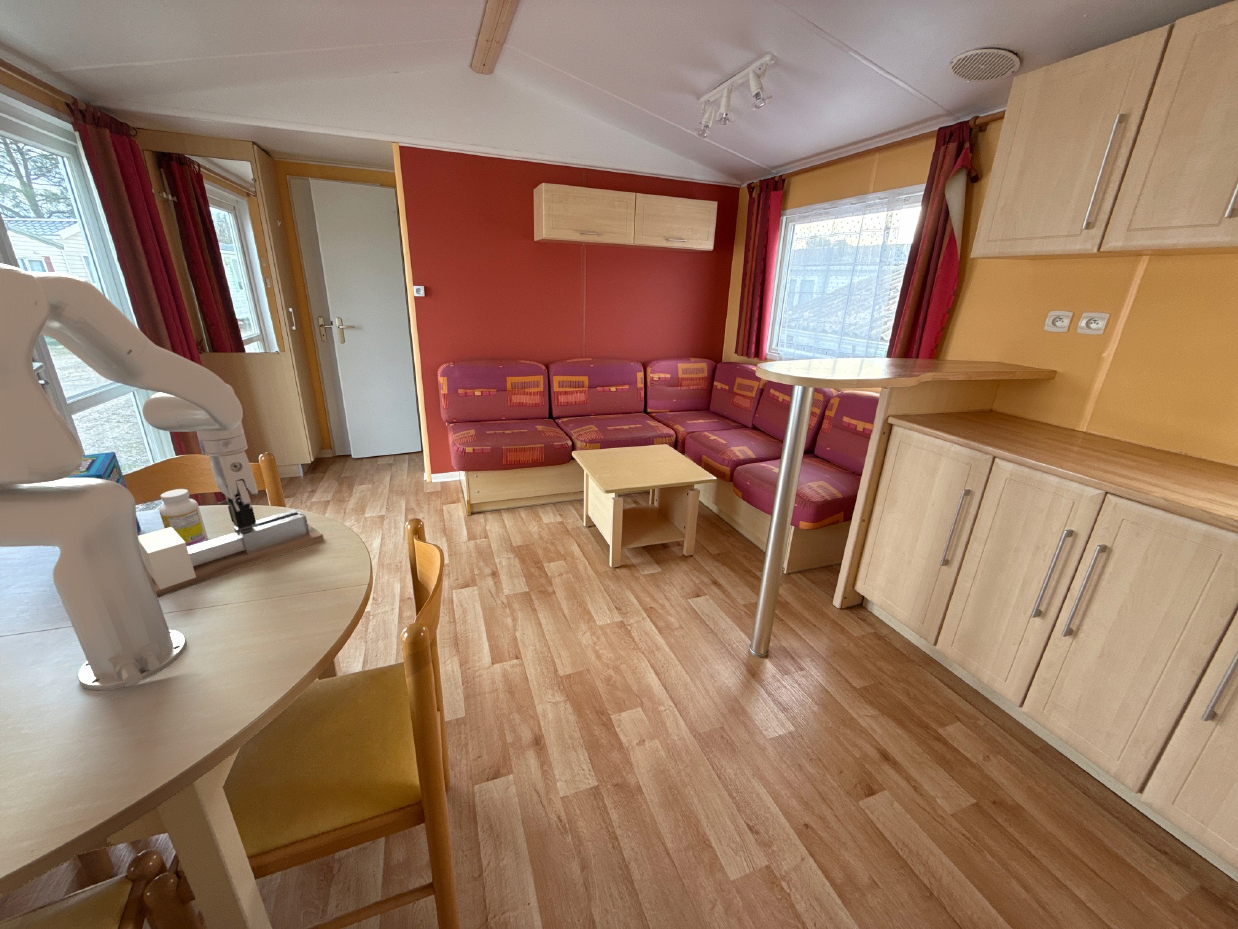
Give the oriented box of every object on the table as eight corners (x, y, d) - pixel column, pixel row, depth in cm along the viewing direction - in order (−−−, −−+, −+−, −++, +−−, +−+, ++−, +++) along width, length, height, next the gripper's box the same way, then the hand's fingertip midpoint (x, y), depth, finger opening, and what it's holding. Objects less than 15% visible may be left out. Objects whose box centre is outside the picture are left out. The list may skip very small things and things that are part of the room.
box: (88, 539, 114) (57, 458, 107) (141, 529, 119) (114, 451, 112) (72, 571, 102) (36, 483, 95) (132, 559, 107) (101, 474, 100)
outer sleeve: (309, 534, 116) (305, 515, 115) (247, 555, 107) (242, 534, 105) (299, 527, 120) (295, 508, 118) (238, 546, 110) (233, 526, 109)
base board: (323, 540, 117) (322, 534, 117) (155, 598, 94) (153, 591, 94) (306, 527, 123) (305, 521, 122) (143, 579, 100) (141, 572, 100)
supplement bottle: (176, 539, 115) (160, 489, 111) (211, 534, 118) (197, 485, 114) (166, 553, 110) (149, 500, 105) (203, 547, 112) (188, 496, 108)
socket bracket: (196, 577, 99) (185, 542, 96) (160, 589, 95) (148, 553, 92) (182, 560, 104) (171, 526, 102) (147, 570, 100) (135, 536, 98)
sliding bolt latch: (268, 542, 111) (258, 499, 107) (170, 573, 98) (155, 526, 94) (262, 537, 113) (252, 495, 109) (166, 567, 100) (150, 521, 96)
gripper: (259, 448, 99) (278, 528, 106) (232, 432, 109) (250, 507, 115) (214, 457, 94) (236, 541, 100) (189, 439, 103) (211, 517, 109)
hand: (244, 522), depth 108 cm, fingers closed on sliding bolt latch, 3 cm apart
